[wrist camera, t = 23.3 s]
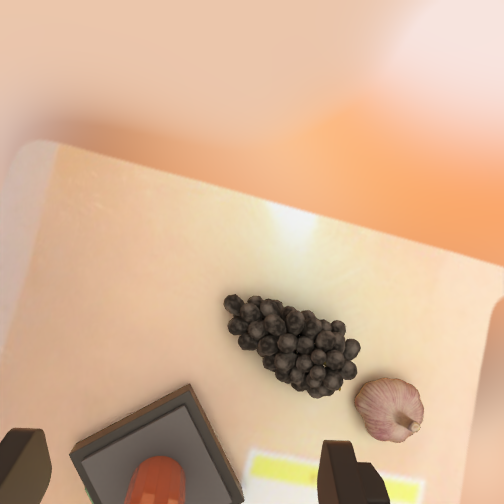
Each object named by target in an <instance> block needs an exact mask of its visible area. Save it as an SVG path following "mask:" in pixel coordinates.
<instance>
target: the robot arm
mask: <svg viewBox="0 0 504 504" xmlns="http://www.w3.org/2000/svg"><path fill="white" fill-rule="evenodd" d="M51 472H52V465H51V461H50V456H49V452H48V447H47V443H46V439H45V434H44V431H43V430H42V429H32V428H13V429H11V430H10V431H9V432H8V433H7V434H6V436H5V437H4V438H3V440H2V441H1V443H0V504H40V502H41V500H42V498H43V496H44V494H45V492H46V490H47V488H48V485H49V482H50V478H51ZM317 491H318V501H319V504H390V499H389V496H388V493H387V490H386V487H385V484H384V481H383V479H382V478H381V476H380V475H379V474H378V472H377V471H376V470H375V468H374V467H373V466H372V464H371V463H365V462H357V461H356V457H355V453H354V449H353V446H352V443H351V442H350V441H336V440H324V441H323V445H322V452H321V458H320V464H319V470H318V478H317Z"/></svg>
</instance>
